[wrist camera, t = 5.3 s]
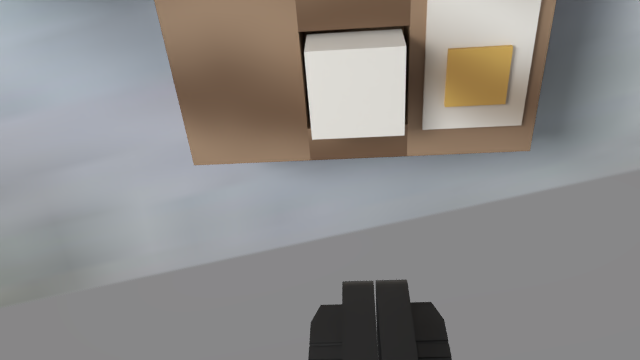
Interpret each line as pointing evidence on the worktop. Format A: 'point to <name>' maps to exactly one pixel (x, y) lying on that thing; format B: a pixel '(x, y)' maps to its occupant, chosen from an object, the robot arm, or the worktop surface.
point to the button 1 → (356, 83)
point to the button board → (351, 16)
